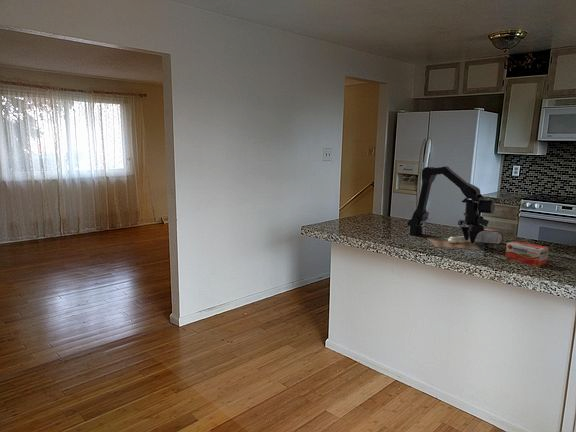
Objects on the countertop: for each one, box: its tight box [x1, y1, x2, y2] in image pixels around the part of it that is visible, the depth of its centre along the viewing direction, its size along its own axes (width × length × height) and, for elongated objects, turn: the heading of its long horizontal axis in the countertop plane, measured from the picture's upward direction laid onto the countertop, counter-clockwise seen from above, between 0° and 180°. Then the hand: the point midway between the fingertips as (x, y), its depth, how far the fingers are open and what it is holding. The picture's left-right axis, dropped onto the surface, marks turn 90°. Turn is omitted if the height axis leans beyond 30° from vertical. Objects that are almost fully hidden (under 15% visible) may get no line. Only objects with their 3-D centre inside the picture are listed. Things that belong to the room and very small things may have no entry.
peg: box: [447, 235, 470, 243], centre depth 217 cm, size 12×4×3 cm, turn 112°
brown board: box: [426, 237, 481, 250], centre depth 216 cm, size 22×20×1 cm
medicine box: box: [504, 240, 549, 268], centre depth 188 cm, size 15×8×8 cm, turn 34°
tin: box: [474, 228, 504, 245], centre depth 218 cm, size 15×3×8 cm, turn 71°
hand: (469, 241), depth 213 cm, fingers open, 7 cm apart
